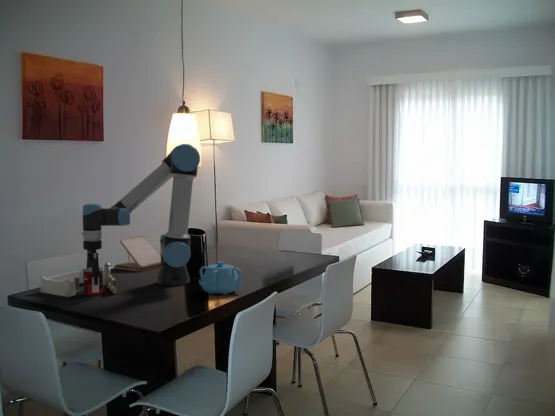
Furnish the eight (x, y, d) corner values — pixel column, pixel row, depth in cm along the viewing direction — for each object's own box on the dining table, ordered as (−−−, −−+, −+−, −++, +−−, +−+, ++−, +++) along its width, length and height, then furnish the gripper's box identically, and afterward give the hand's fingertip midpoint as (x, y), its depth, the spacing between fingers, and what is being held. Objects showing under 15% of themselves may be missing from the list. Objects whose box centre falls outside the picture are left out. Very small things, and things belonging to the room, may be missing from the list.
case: (140, 272, 284) (140, 241, 282) (111, 268, 294) (110, 238, 293) (167, 266, 301) (166, 237, 300) (138, 262, 312) (138, 234, 310)
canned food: (86, 291, 242) (85, 267, 241) (105, 291, 242) (104, 266, 241) (81, 296, 234) (81, 270, 233) (101, 295, 235) (100, 270, 234)
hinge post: (112, 285, 254) (111, 262, 253) (107, 286, 251) (107, 263, 250) (107, 284, 255) (107, 261, 254) (102, 286, 253) (102, 263, 252)
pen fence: (110, 285, 254) (110, 270, 253) (67, 297, 232) (66, 280, 231) (84, 281, 262) (83, 267, 261) (39, 292, 240) (39, 276, 239)
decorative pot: (231, 286, 253) (231, 257, 252) (244, 294, 238) (244, 263, 237) (197, 290, 246) (196, 260, 245) (208, 298, 231) (208, 266, 230)
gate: (107, 286, 250) (107, 274, 250) (110, 286, 251) (109, 274, 250) (113, 293, 237) (113, 280, 236) (116, 293, 238) (116, 280, 237)
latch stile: (79, 292, 240) (78, 277, 240) (75, 293, 238) (74, 278, 238) (76, 291, 241) (75, 277, 241) (71, 293, 239) (71, 278, 239)
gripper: (79, 236, 245) (80, 283, 247) (87, 244, 223) (88, 296, 225) (96, 235, 249) (97, 282, 251) (106, 243, 227) (107, 294, 229)
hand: (93, 288), depth 238 cm, fingers open, 13 cm apart
